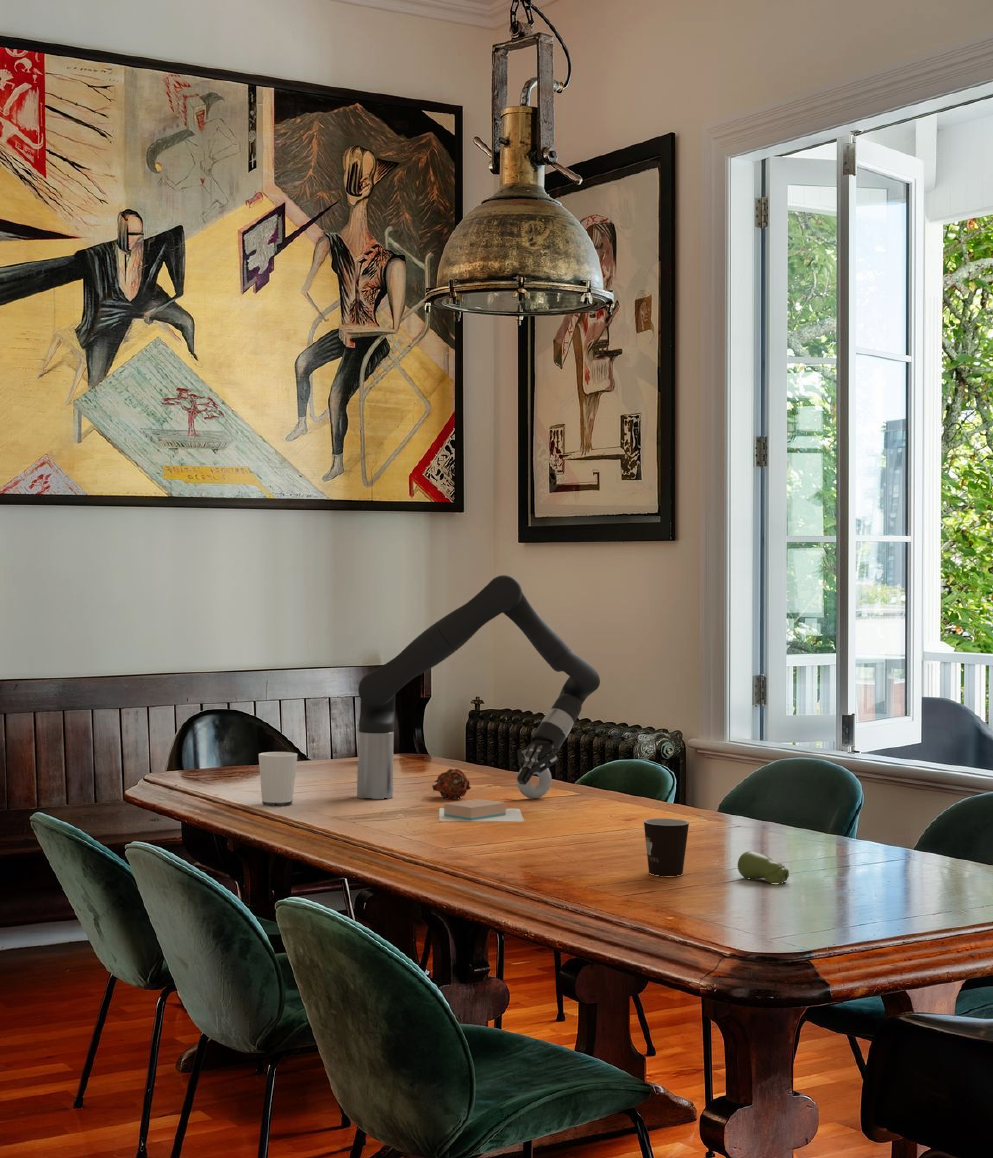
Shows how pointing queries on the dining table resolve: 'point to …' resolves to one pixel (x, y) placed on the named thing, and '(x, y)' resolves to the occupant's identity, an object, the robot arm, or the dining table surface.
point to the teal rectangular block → (474, 809)
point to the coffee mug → (666, 845)
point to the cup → (277, 777)
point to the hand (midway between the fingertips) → (521, 782)
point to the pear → (761, 867)
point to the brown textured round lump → (452, 784)
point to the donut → (539, 788)
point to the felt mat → (511, 815)
